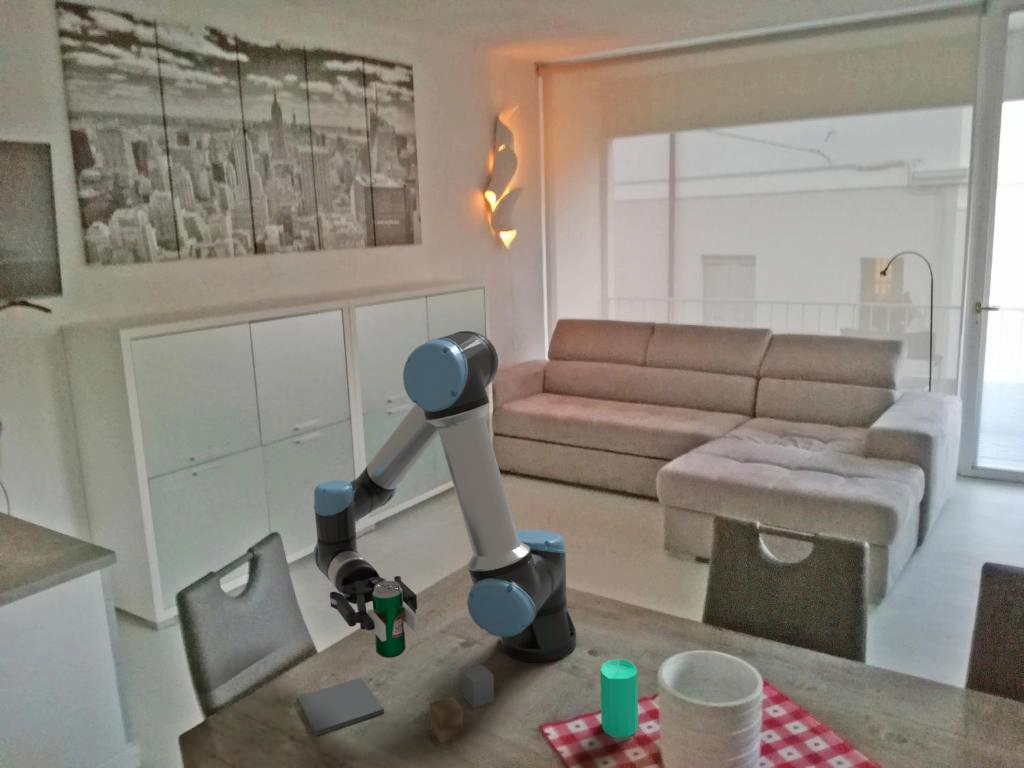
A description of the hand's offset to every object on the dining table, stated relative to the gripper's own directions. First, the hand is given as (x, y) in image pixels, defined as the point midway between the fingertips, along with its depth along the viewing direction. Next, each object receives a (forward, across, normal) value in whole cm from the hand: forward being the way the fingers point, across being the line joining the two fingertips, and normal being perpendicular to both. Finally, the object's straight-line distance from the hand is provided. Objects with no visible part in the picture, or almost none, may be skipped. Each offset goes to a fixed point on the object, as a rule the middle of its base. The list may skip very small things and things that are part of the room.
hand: (400, 628), depth 134 cm
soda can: (-5, 0, -7) cm, 9 cm away
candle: (+18, -31, -18) cm, 40 cm away
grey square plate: (-13, +8, -18) cm, 24 cm away
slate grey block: (-2, -14, -18) cm, 23 cm away
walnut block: (+4, -6, -18) cm, 20 cm away
